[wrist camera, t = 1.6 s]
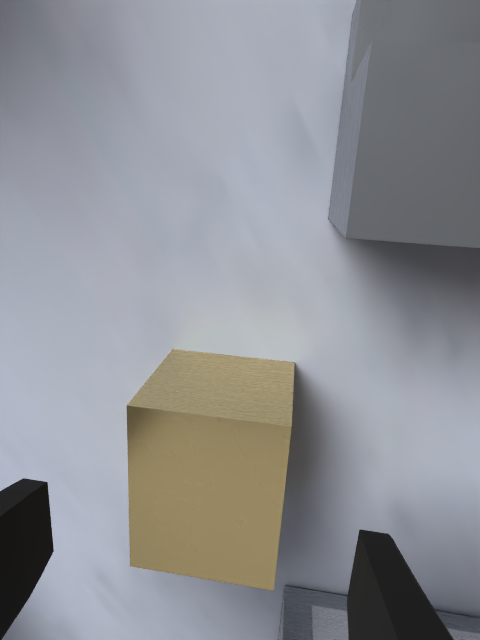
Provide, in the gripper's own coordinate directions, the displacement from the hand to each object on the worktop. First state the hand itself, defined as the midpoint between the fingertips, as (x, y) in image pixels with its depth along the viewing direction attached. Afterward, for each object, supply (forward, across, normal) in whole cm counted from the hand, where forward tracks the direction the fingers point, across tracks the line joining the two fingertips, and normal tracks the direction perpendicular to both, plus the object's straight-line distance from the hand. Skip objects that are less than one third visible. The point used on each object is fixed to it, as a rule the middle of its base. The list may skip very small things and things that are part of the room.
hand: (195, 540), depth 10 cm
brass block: (+5, 0, 0) cm, 5 cm away
